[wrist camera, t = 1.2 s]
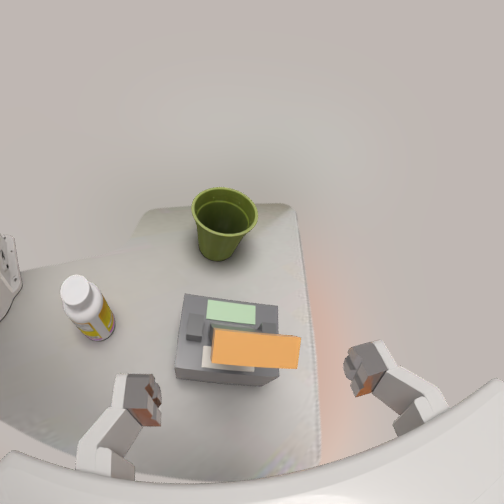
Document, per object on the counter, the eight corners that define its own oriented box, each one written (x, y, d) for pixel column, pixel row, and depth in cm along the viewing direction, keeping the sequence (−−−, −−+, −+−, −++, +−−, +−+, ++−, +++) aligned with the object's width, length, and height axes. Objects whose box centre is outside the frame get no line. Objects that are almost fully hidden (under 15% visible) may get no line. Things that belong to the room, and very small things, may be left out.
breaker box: (261, 386, 41) (285, 373, 32) (176, 377, 39) (173, 362, 30) (262, 326, 48) (283, 298, 39) (184, 316, 45) (184, 285, 36)
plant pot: (192, 275, 51) (196, 238, 42) (184, 227, 57) (187, 188, 48) (251, 269, 55) (266, 233, 46) (237, 224, 61) (248, 186, 52)
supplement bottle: (104, 300, 43) (85, 260, 33) (122, 329, 41) (104, 295, 31) (75, 318, 39) (48, 282, 29) (92, 348, 37) (64, 320, 27)
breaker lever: (253, 342, 36) (296, 368, 20) (204, 337, 35) (211, 362, 19) (256, 324, 37) (301, 337, 21) (207, 318, 36) (215, 329, 20)
